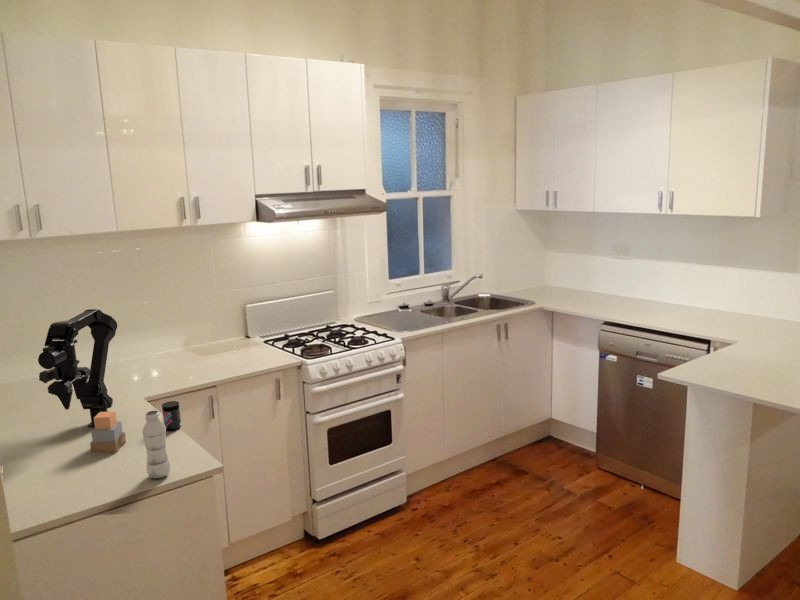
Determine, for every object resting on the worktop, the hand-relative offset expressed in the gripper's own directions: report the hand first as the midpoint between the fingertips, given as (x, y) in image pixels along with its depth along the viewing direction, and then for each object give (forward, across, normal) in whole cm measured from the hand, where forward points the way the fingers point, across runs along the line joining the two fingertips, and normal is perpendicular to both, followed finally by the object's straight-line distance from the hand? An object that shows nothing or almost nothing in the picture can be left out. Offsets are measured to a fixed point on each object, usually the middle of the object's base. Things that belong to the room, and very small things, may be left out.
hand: (73, 404), depth 213 cm
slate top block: (+9, +8, +13) cm, 18 cm away
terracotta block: (+5, +8, +13) cm, 16 cm away
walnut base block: (+13, +8, +13) cm, 20 cm away
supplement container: (+13, -6, +30) cm, 33 cm away
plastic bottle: (+13, +30, +36) cm, 49 cm away
